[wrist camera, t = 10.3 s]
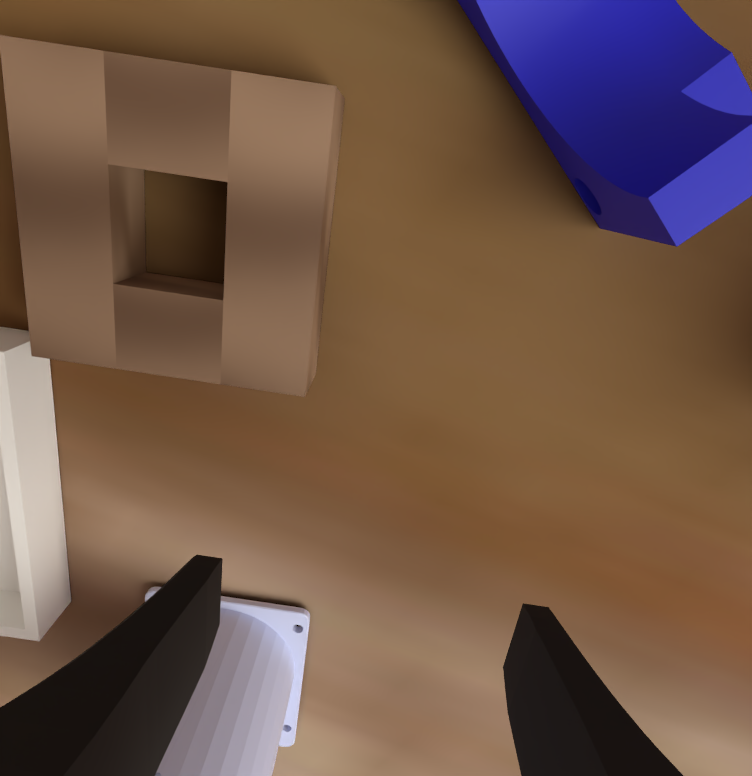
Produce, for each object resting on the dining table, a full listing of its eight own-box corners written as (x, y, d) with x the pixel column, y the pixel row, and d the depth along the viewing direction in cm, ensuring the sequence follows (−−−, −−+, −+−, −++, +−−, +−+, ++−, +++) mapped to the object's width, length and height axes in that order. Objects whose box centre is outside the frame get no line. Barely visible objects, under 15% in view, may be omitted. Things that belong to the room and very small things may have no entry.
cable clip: (716, 142, 18) (854, 125, 13) (598, 227, 19) (677, 246, 14) (522, -222, 15) (591, -460, 9) (396, -95, 16) (391, -239, 11)
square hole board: (315, 373, 22) (305, 397, 19) (71, 337, 22) (31, 355, 19) (344, 98, 18) (335, 86, 16) (51, 53, 18) (-2, 34, 16)
